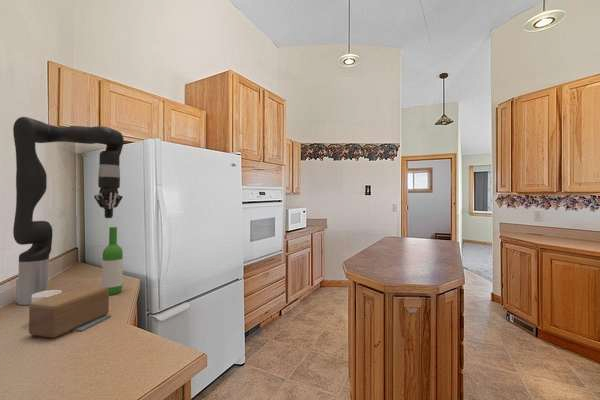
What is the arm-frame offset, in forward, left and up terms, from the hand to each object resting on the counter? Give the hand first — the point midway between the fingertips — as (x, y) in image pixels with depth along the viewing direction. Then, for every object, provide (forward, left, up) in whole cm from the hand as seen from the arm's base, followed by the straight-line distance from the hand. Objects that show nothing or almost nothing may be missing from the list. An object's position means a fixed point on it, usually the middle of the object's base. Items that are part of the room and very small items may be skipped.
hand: (108, 217), depth 120 cm
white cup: (-5, -21, -35) cm, 41 cm away
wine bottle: (-7, +11, -35) cm, 38 cm away
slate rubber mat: (+7, -20, -35) cm, 41 cm away
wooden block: (+7, -12, -29) cm, 32 cm away
